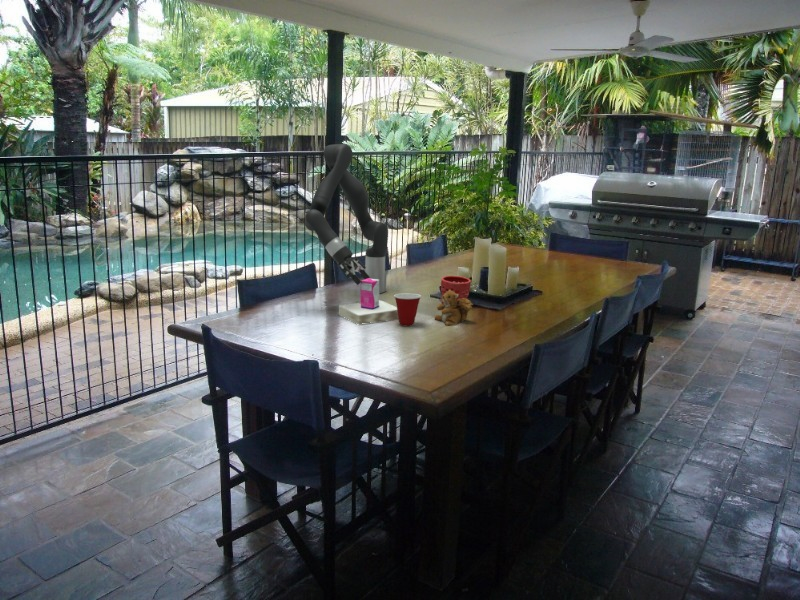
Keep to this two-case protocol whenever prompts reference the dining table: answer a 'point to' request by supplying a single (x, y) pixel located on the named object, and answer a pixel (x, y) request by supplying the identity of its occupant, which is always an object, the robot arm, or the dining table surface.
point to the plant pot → (455, 286)
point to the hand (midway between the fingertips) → (364, 281)
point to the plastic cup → (407, 307)
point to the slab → (368, 313)
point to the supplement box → (370, 293)
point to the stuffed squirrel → (453, 308)
